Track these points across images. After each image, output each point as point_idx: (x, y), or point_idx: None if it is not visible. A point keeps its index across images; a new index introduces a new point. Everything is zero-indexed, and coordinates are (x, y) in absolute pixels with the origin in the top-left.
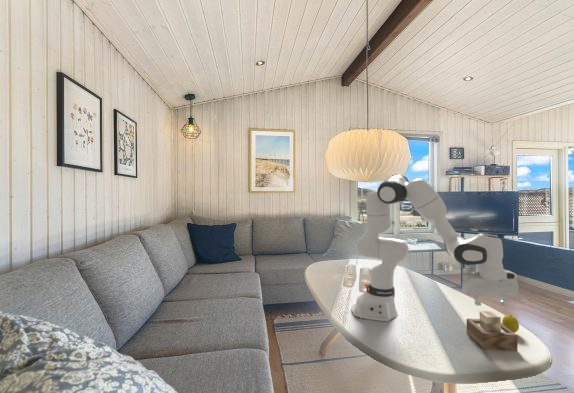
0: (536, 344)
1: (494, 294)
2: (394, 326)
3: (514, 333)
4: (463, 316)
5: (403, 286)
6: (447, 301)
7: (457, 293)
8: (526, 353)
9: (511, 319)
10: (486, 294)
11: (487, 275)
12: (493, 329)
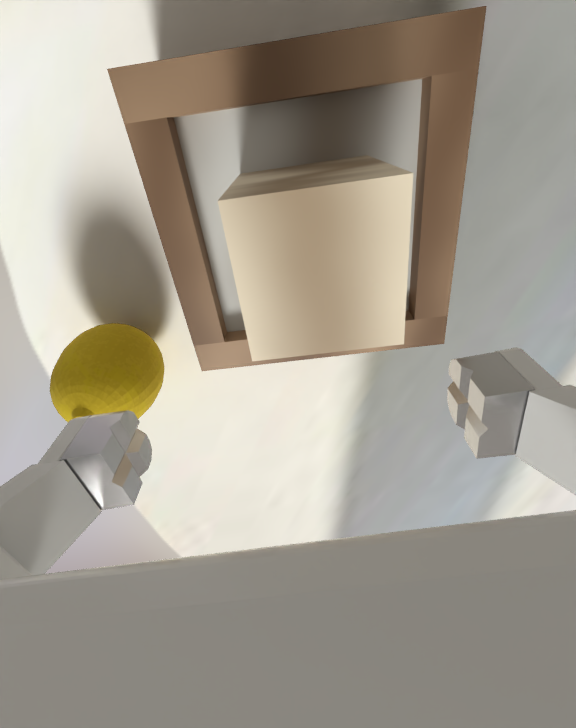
0: (11, 228)
1: (211, 585)
2: None
3: (127, 110)
4: (326, 463)
5: None
6: None
7: None
8: (104, 57)
9: (89, 378)
10: (491, 555)
11: None
12: (308, 166)
